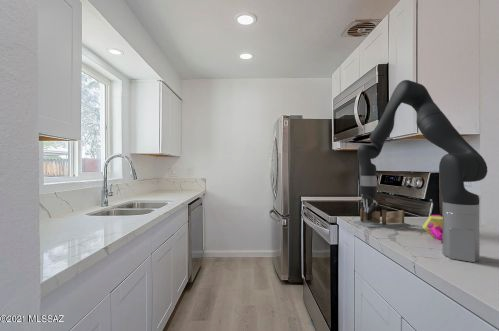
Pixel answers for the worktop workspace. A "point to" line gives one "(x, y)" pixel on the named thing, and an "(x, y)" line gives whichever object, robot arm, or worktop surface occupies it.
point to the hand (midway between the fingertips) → (368, 219)
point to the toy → (434, 226)
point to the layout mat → (379, 224)
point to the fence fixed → (393, 217)
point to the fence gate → (374, 216)
